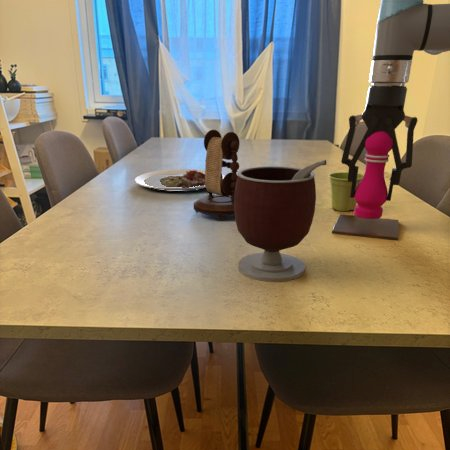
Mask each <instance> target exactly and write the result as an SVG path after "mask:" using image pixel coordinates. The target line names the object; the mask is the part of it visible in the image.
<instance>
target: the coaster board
mask: <svg viewBox="0 0 450 450" xmlns="http://www.w3.org/2000/svg"><path fill="white" fill-rule="evenodd" d="M331 234H334V235H344V236H354V237H362V238H371V239H381V240H382V239H383V240H390V241H398V239H399V219H395V218H394V219H393V218H384V217H383V218H382V217H380V218H378V219H365V218H360V217H357V216H355V215H352V214H351V215H350V214H341V213H340V214H339V215H338V217H337V219H336V222H334V226H333V228H332V230H331Z"/></svg>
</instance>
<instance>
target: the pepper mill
mask: <svg viewBox="0 0 450 450" xmlns="http://www.w3.org/2000/svg"><path fill="white" fill-rule="evenodd" d="M392 145H393V140H392V138H390V137H389V134H388V133H387V132H384V131H376V132H372V134H371V136H370V137H368V138H367V139H366V143H365V147H364V149H365V150H366V153H365V155H364V156H365V157H364V161H365V170H364V174H363V175H364V176H363V178H362V180H361V181H360V183H359V185H358V186H357V188H356V191H355V194H354V199H355V201H356V203H357V204H356V206H355V209H354V210H353V216H357V217H360V218H365V219H378V218H382V217H383V212H384V208H383V207H382V206H383V205H384V204H386V202H388V201H387V197H388V188H387V183H386V179H385V169H386V164H387V163H388V162H389V161H390V160H389V158H390V154H389V153H390V152H391V151H392Z"/></svg>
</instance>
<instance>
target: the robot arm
mask: <svg viewBox="0 0 450 450" xmlns="http://www.w3.org/2000/svg"><path fill="white" fill-rule="evenodd" d="M424 1H425V0H380V4H379V10H378V16H377V21H376V27H375V36H374V42H373V43H374V44H373V50H372V51H373V52H372V60H371V65H370V66H371V67H370V73H369V79H368V82H369V84H371V85H370V86H369V87H368V88H367V94H366V102H365V109H364V110H363V111H362V113H361V114H357V115H354V114H352V115H350V116H348V117H349V118H348V125H349V126H348V127H349V129H348V133H347V136H346V137H347V138H346V141H345V145H344V148H343V152H342V155H341V156H342V157H341V164H342V165H346V166H347V167H348V171H347V172H348V182H352V188H351V195H350V198H354V194H355V189H356V182H357V175H358V174H359V167H360V166H359V165H356V164H357V163H358V160H359V159H360V157H361V155H362V153H363V151H364V149H365V143H366V139H367V138H368V137H370V136H371V134H372V132H376V131H384V132H387V133H388V134H389V137H390V138H392V140H393V145H392V149H391V151H392V155H393V161H394V165H395V167H394V168H393V167H392V169H391V175H390V181H389V186H388V190H387V192H388V197H387V201H386V202H391V199H392V195H393V189H394V186H399V185H400V182H401V176H402V172H403V171H404V170H405V169H410V168H411V167H412V165H413V152H414V134H415V129H416V126H417V124H418V117H417V116H410V115H406V112H405V104H406V98H407V92H408V87H407V86H405V85H406V84H407V83H409V80H410V77H411V76H410V75H411V69H412V64H413V57H414V51H415V52H416V51H418V52H422V51H423V52H425V54H426V53H427V54H430V55H432V56H436V55H440V54H442V53H446V52H450V3H436V4H435V3H433V4H431V3H424ZM361 121H363V123H364V125H365V126H366V128H367V129H366V131H365V133H364V135H363V137H362V138H361V140H360V142H359V145H358V147H357V148H356V150H355V152H354V154H353V155H352V158H349V157H350V153H351V151H352V150H351V149H352V146H353V142H354V138H355V134H356V130H357V127H358V126H359V125H360V123H361ZM402 122H404V127H405V128H407V129H406V130H407V131H406V150H405V161H402V157H401V152H400V149H399V148H400V147H399V145H398V139H397V133H396V129H397V128H398V127H399V126H400V124H401V123H402Z"/></svg>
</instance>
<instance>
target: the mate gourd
mask: <svg viewBox="0 0 450 450" xmlns="http://www.w3.org/2000/svg"><path fill="white" fill-rule="evenodd" d="M326 165H327V160H326V159H321V160H319V161H316V162H314V163H311V164H309V165H307V166H305V167H303V168H300V167H294V166H279V165H268V166H267V165H265V166H264V165H263V166H253V167H247V168H243V169H240V170H238V172H237V175H238V177H237V181H236V187H235V193H234V213H235V215H234V219H235V225H236V228H237V232H238V233H239V234H240V236H241V237H242V238H243V240H244V241H245V242H246V243H247V244H248V245H250V246H252V247H255V248H259V249H261V250H264V251H263V252H257V253H251V254H247V255H245V256H244V257H242V258H241V259H239V261H238V263H237V269H238V271H239V273H240V274H242V275H243V276H245V277H247V278H249V279H251V280H252V279H253V280H255V281H261V282H271V283H272V282H274V283H275V282H276V283H277V282H278V283H279V282H286V281H291V280H294V279H297V278H300V277H301V276H302V275H303V274H304V273H305V269H306V265H305V263H304V262H303V260H301V259H300V258H299V257H296V256H294V255H290V254H288V253H281V252H280V251H283V250H286V249H291V248H294V247H296V246H298V245H299V244H300V243H301V242H302V241H303V240H304V239H305V238H306V237H307V235H308V234H309V232H310V229H311V228H312V224H313V220H314V217H315V211H316V201H317V192H316V191H317V189H316V179H315V176H316V175H315V173H314V172H313V171H314V170H316V169H317V168H319V167H321V166H326Z"/></svg>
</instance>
